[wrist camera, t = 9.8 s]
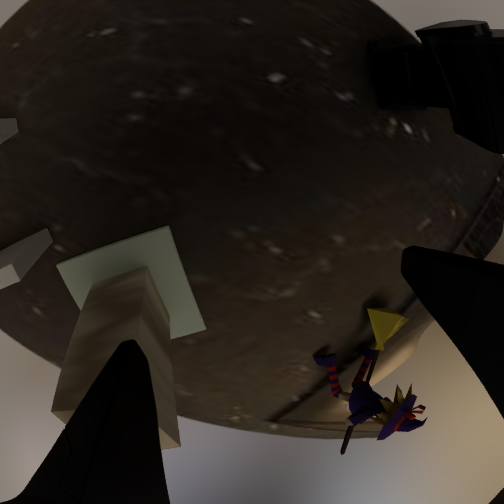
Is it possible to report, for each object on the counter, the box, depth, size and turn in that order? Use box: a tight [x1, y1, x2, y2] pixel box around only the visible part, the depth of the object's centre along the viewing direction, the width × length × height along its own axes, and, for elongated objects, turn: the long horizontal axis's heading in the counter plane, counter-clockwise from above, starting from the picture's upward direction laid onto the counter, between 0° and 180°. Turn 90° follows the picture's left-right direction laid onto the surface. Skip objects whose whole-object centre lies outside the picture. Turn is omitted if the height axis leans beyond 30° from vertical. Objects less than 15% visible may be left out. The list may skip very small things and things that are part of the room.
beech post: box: [51, 266, 181, 450], centre depth 15 cm, size 5×5×12 cm
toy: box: [314, 308, 427, 455], centre depth 25 cm, size 8×19×15 cm, turn 150°
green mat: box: [56, 225, 206, 339], centre depth 20 cm, size 10×10×1 cm
